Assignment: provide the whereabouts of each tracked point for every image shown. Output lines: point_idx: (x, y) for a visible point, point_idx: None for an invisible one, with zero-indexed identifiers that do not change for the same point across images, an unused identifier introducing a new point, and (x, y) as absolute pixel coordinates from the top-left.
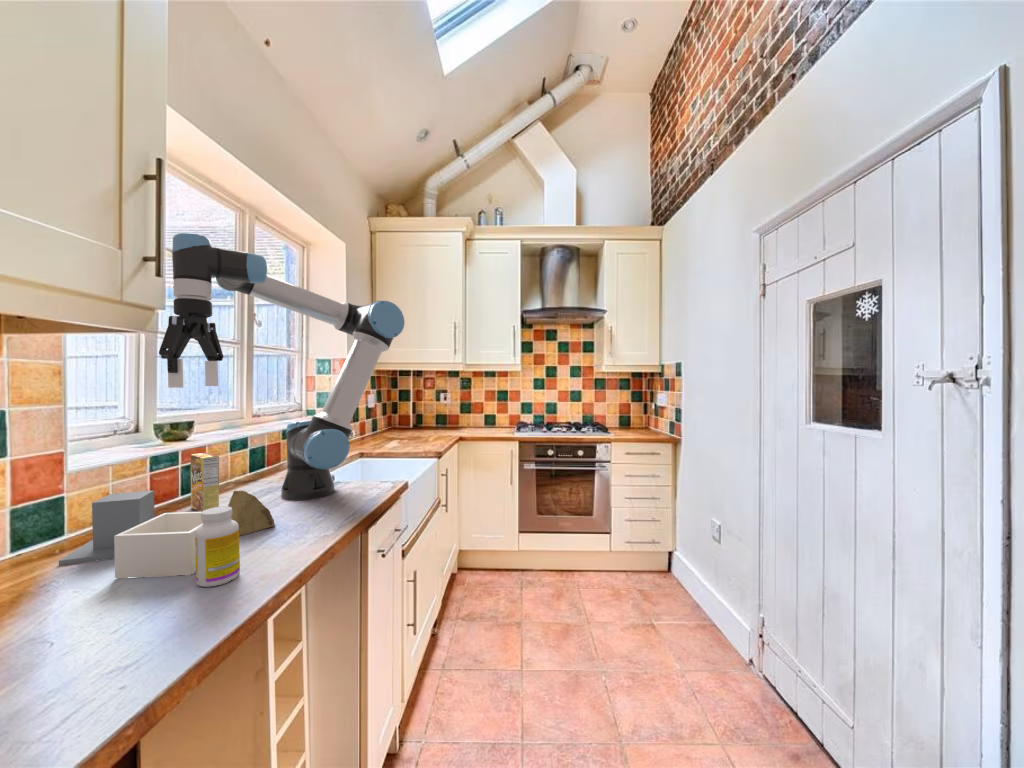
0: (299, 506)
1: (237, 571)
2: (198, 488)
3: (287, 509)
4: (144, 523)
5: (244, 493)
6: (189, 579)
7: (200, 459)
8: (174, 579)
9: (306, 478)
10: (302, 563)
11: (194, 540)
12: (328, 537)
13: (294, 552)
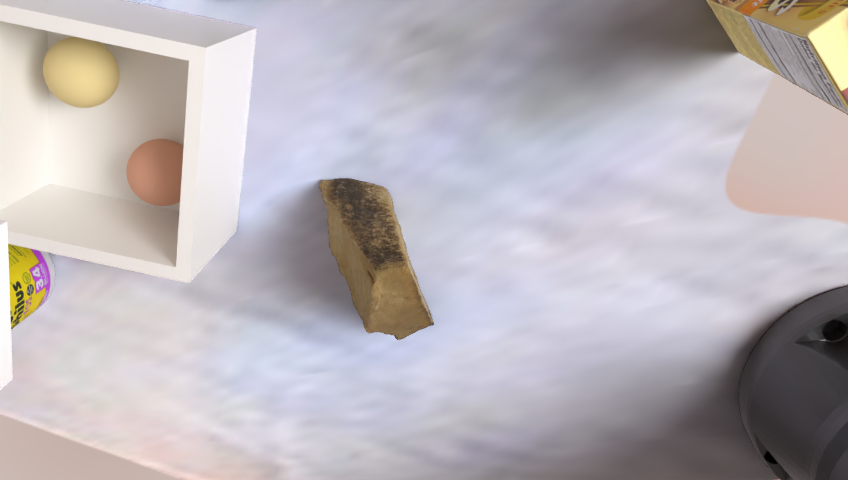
0: (644, 372)
1: None
2: None
3: (618, 335)
4: (76, 32)
5: (367, 302)
6: None
7: (832, 9)
8: None
9: (790, 448)
10: (84, 430)
11: None
12: (256, 476)
13: (159, 406)
